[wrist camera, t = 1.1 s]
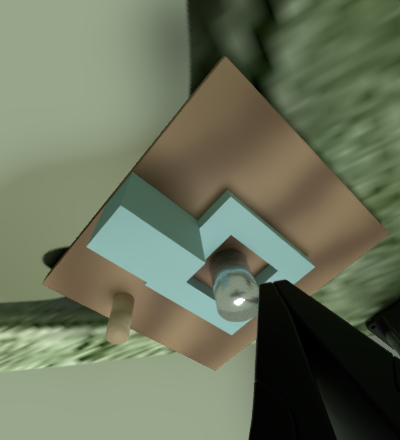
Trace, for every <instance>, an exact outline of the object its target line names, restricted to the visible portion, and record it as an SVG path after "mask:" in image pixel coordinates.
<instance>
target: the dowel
mask: <svg viewBox="0 0 400 440" xmlns="http://www.w3.org/2000/svg"><path fill="white" fill-rule="evenodd" d="M133 307H134V297H133V296H132V295H130V294H128V293H119V294H117V295H116V296H115V297H114V301H113V305H112V309H111V313H110V318H109V322H108V326H107V330H106V334H105V338H106V340H107V341H108V342H110V343H112V344H122V343H125V342H126V341H127V340H128V338H129V333H130V326H131V320H132V313H133Z"/></svg>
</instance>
